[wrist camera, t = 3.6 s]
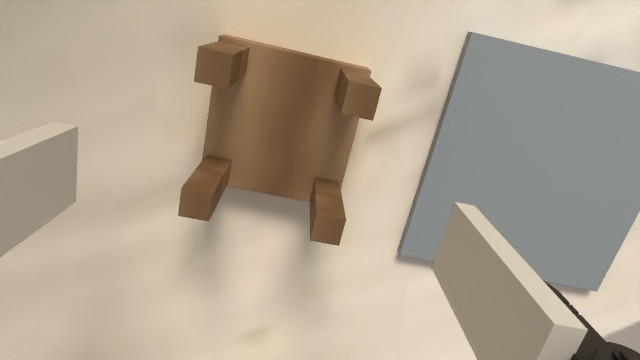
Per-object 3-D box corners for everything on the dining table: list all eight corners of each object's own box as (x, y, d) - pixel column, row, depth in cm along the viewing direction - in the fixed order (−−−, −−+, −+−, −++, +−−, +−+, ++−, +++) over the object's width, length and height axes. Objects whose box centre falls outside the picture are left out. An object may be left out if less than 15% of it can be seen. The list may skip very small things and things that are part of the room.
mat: (397, 250, 28) (399, 255, 28) (468, 32, 23) (472, 32, 23) (591, 286, 29) (596, 291, 29) (695, 86, 25) (704, 88, 24)
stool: (207, 168, 26) (173, 218, 19) (226, 34, 23) (193, 40, 17) (334, 193, 27) (342, 250, 20) (366, 67, 24) (387, 84, 18)
